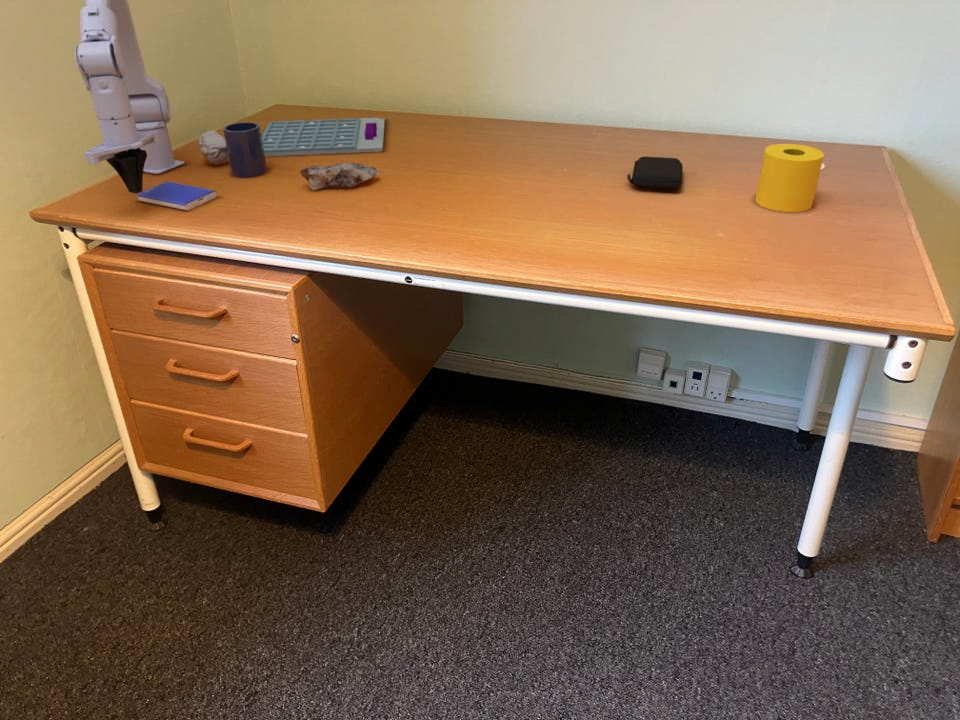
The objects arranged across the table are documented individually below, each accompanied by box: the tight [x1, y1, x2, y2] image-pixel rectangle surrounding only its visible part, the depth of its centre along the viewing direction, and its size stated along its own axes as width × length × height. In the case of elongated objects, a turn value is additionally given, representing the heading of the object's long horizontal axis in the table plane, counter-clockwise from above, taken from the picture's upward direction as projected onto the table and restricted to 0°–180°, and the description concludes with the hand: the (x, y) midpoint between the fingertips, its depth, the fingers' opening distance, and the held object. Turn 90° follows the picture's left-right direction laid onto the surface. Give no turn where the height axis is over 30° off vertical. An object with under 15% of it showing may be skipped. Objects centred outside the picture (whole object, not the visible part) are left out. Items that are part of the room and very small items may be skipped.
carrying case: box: [626, 156, 684, 193], centre depth 151 cm, size 11×3×15 cm
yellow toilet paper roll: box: [755, 143, 825, 213], centre depth 138 cm, size 10×10×9 cm
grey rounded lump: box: [198, 130, 229, 166], centre depth 163 cm, size 6×7×7 cm
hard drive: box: [136, 181, 218, 211], centre depth 146 cm, size 2×8×12 cm
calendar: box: [261, 116, 386, 158], centre depth 180 cm, size 27×29×2 cm
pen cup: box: [222, 121, 268, 179], centre depth 157 cm, size 7×7×10 cm
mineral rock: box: [300, 161, 380, 192], centre depth 151 cm, size 15×8×4 cm, turn 92°
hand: (135, 191), depth 137 cm, fingers closed
